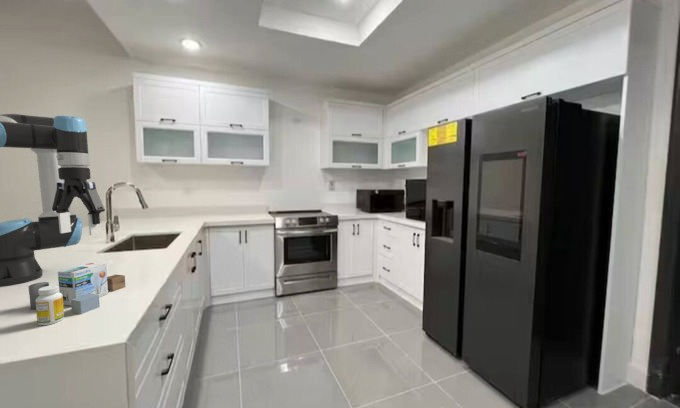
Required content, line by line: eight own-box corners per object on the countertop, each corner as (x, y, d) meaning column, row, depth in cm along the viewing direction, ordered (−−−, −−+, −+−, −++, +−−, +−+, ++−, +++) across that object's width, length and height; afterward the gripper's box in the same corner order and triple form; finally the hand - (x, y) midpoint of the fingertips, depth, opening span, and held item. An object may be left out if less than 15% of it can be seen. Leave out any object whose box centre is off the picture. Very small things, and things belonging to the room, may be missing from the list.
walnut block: (104, 290, 105) (103, 278, 105) (116, 286, 109) (115, 274, 109) (113, 291, 104) (112, 279, 103) (125, 287, 108) (124, 275, 108)
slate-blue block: (72, 312, 88) (71, 299, 87) (90, 305, 93) (89, 293, 92) (81, 314, 87) (80, 301, 86) (99, 307, 91) (98, 294, 91)
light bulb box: (76, 306, 92) (73, 272, 91) (59, 305, 93) (56, 271, 92) (109, 293, 102) (107, 262, 101) (93, 292, 103) (91, 261, 102)
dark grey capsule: (27, 308, 91) (24, 286, 90) (45, 302, 95) (43, 281, 94) (36, 310, 89) (34, 287, 89) (54, 304, 93) (52, 282, 93)
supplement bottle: (38, 328, 79) (35, 293, 78) (36, 321, 82) (33, 288, 81) (66, 320, 83) (63, 287, 82) (63, 314, 86) (59, 282, 85)
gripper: (33, 167, 94) (39, 233, 96) (89, 165, 86) (95, 237, 88) (61, 168, 101) (67, 229, 103) (115, 166, 93) (120, 233, 95)
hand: (80, 233), depth 95 cm, fingers open, 13 cm apart
